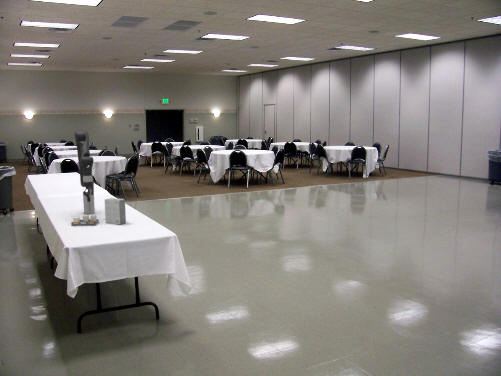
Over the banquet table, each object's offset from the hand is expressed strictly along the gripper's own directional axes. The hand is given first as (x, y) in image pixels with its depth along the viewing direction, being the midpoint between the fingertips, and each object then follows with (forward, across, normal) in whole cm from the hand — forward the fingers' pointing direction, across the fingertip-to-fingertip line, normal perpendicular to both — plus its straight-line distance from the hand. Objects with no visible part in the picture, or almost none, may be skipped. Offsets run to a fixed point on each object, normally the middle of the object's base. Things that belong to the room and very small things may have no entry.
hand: (89, 201), depth 405 cm
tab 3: (+15, +6, +4) cm, 17 cm away
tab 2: (+15, +6, -2) cm, 16 cm away
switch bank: (+17, +9, -1) cm, 19 cm away
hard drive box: (+17, +6, +22) cm, 29 cm away
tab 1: (+15, +13, -7) cm, 21 cm away
